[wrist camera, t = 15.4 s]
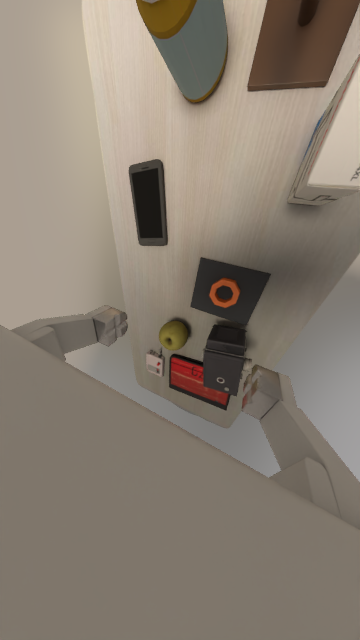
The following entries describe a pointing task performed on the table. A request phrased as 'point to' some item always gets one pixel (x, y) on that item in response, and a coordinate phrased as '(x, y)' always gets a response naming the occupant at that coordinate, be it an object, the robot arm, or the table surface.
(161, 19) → the bottle
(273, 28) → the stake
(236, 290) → the ring
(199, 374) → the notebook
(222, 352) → the camera
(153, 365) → the electronic control box
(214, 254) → the table surface
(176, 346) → the apple
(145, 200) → the cell phone
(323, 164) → the ink box
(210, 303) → the mat
